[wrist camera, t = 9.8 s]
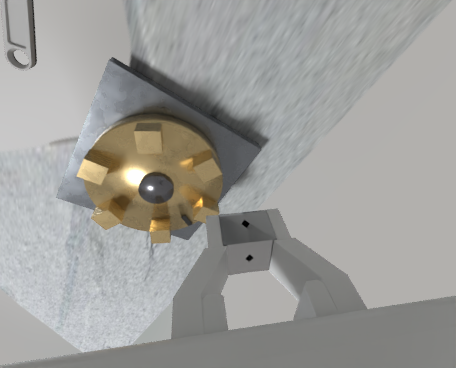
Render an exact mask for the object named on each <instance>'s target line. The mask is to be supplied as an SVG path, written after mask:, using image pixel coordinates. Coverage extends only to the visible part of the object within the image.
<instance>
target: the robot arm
mask: <svg viewBox="0 0 456 368" xmlns="http://www.w3.org/2000/svg"><path fill="white" fill-rule="evenodd" d="M206 227H207V238H208V248H205V249H204V250H203V252H202V254H201V255H200V257H199V258H198V260H197V261H196V263H195V265H194V266H193V268H192V269H191V271H190V272H189V274H188V276H187V277H186V279H185V280H184V282H183V283H182V285H181V287H180V288H179V290H178V291H177V293H176V294H175V296H174V298H173V314H172V335H171V339H169V340H162V341H157V342H149V343H143V344H136V345H130V346H123V347H117V348H110V349H104V350H97V351H91V352H84V353H78V354H71V355H64V356H58V357H51V358H45V359H39V360H32V361H25V362H19V363H12V364H5V365H0V368H456V296H451V297H444V298H438V299H431V300H425V301H419V302H412V303H405V304H399V305H392V306H386V307H379V308H373V309H367V308H366V306H365V304H364V303H363V301H362V299H361V297H360V296H359V294H358V292H357V291H356V289H355V287H354V285H353V284H352V282H351V280H350V279H349V277H348V275H347V274H346V273H344V272H343V271H341V270H340V269H338V268H337V267H335V266H334V265H333V264H331V263H330V262H328V261H327V260H326V259H324V258H323V257H321V256H320V255H318V254H317V253H316V252H314V251H313V250H311V249H310V248H308V247H307V246H306V245H304V244H303V243H302V242H300V241H299V240H297V239H296V238H291V236H290V234H289V232H288V229H287V227H286V225H285V223H284V221H283V218H282V216H281V214H280V212H279V210H278V209H269V210H260V211H252V212H243V213H232V214H220V215H210V216H206ZM264 270H269V271H270V273H271V274H273V275H274V277H275V278H276V279H277V280H278V281H279V282H280V283H281V284H282V285H283V286H284V287H285V288H286V289H287V290H288V291H289V292H290V293H291V294H292V295H293V296H294V297H295V299H297V300H298V302H299V304H298V307H297V310H296V313H295V316H294V320H293V321H287V322H280V323H274V324H267V325H261V326H254V327H248V328H241V329H234V330H228V326H227V319H226V311H225V304H224V297H223V296H222V295H221V292H222V289H223V287H224V285H225V282H226V280H227V278H228V275H233V274H239V273H246V272H253V271H264Z"/></svg>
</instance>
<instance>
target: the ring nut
mask: <svg viewBox="0 0 456 368" xmlns="http://www.w3.org/2000/svg"><path fill="white" fill-rule="evenodd" d="M77 177H80V178H82V179H83V180H84V184H85V188H86V191H87V193H88V195H89V197H90V198H91V200H92V202H93V203H94V204H95V205H96V207H95V210H94V212H93V214H92V217H91V219H93V220H94V221H95V222H96V223H98V224H99V225H100V226H101V227H103V228H104V229H105V230H107V229H109V228H111V227H113V226H115V225H117V224H119V223H120V224H122V225H124V226H127V227H130V228H133V229H137V230H142V231H150V235H151V241H152V244H153V243H170V241H171V231H173V230H178V229H181V228H185V227H187V226H190V225H192V224H194V223H196V222H198V221H200V222H202V223H205V224H206V216H210V215H218V214H219V207H218V200H219V198H220V195H221V192H222V186H223V176H222V169H221V165H220V161H219V158H218V155H217V152H216V150H215V148H214V147H213V145H212V144H211V142H210V141H209V140H208V139H207V137H206V136H205V135H204V134H203V133H201V132H200V131H199V130H198V129H196V128H195V127H193V126H192V125H190V124H188V123H186V122H184V121H182V120H179V119H176V118H173V117H170V116H165V115H157V114H143V115H136V116H131V117H128V118H125V119H122V120H120V121H118V122H116V123H114V124H113V125H111V126H110V127H108V128H107V129H106V130H105V131H104V132H102V133H101V135H100V136H99V137H98V139H97V140H96V141H95V143H94V145H93V146H92V148H91V149H89V151H88V153H87V154H86V156H85V157H84V159H83V162H82V164H81V166H80V169H79V171H78V174H77Z"/></svg>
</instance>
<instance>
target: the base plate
mask: <svg viewBox="0 0 456 368" xmlns="http://www.w3.org/2000/svg"><path fill="white" fill-rule="evenodd" d="M143 114H157V115H165V116H170V117H173V118H176V119H179V120H182V121H184V122H186V123H188V124H190V125H192V126H193V127H195V128H196V129H198V130H199V131H200V132H201V133H203V134H204V135H205V136H206V137H207V139H208V140H209V141H210V142H211V144H212V145H213V147H214V148H215V150H216V152H217V155H218V158H219V161H220V165H221V169H222V176H223V186H222V192H221V195H220V198H219V200H218V203H219V201H220V200H221V199H222V198H223V196H224V195H225V194H226V193H227V191H228V190H229V189H230V188H231V186H232V185H233V184H234V183H235V182H236V180H237V179H238V178H239V177H240V175H241V174H242V173H243V172H244V170H245V169H246V168H247V167H248V165H249V164H250V163H251V162H252V161H253V159H254V158H255V157H256V156H257V154H258V153H259V152H260V151H261V148H260V146H259V144H258V143H256V142H254V141H253V140H251V139H249V138H248V137H246V136H244V135H243V134H241V133H239V132H238V131H236V130H234V129H233V128H231V127H229V126H228V125H226V124H224V123H223V122H221V121H219V120H217V119H216V118H214V117H212V116H211V115H209V114H207V113H206V112H204V111H202V110H201V109H199V108H197V107H196V106H194V105H192V104H191V103H189V102H187V101H186V100H184V99H182V98H180V97H179V96H177V95H175V94H174V93H172V92H170V91H169V90H167V89H165V88H164V87H162V86H160V85H159V84H157V83H155V82H154V81H152V80H150V79H149V78H147V77H145V76H144V75H142V74H140V73H138V72H137V71H135V70H133V69H132V68H130V67H128V66H127V65H125V64H123V63H121V62H120V61H118V60H117V59H115V58H113V57H112V58H111V59H110V60H109V61H108V63H107V66H106V69H105V71H104V74H103V76H102V79H101V82H100V84H99V87H98V89H97V92H96V95H95V97H94V100H93V103H92V105H91V108H90V110H89V113H88V116H87V118H86V121H85V124H84V126H83V129H82V131H81V134H80V136H79V139H78V142H77V144H76V147H75V150H74V152H73V155H72V157H71V160H70V163H69V165H68V168H67V170H66V173H65V176H64V178H63V181H62V183H61V186H60V189H59V191H58V194H57V196H56V198H58V199H62V200H65V201H68V202H71V203H74V204H77V205H80V206H83V207H86V208H90V209H93V210H95V207H96V205H95V204H94V203H93V202H92V200H91V198H90V197H89V195H88V193H87V191H86V188H85V184H84V180H83V179H82V178H80V177H77V174H78V171H79V169H80V166H81V164H82V162H83V159H84V157H85V156H86V154H87V153H88V151H89V149H91V148H92V146H93V145H94V143H95V141H96V140H97V139H98V137H99V136H100V135H101V133H102V132H104V131H105V130H106V129H107V128H108V127H110V126H111V125H113V124H114V123H116V122H118V121H120V120H122V119H125V118H128V117H131V116H136V115H143ZM201 224H202V222H200V221H198V222H196V223H194V224H192V225H190V226H187V227H185V228H181V229H178V230H173V231H171V235H173V236H177V237H180V238H183V239H186V240H189V238H190V237H191V236H192V235H193V233H194V232H195V231H196V230H197V229H198V227H199V226H200V225H201Z"/></svg>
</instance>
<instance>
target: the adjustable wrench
mask: <svg viewBox="0 0 456 368" xmlns="http://www.w3.org/2000/svg"><path fill="white" fill-rule="evenodd" d="M0 3H1V15H2V27H3V38H4V50H5V57H6V59H7V61H8V62H9V63H10V65H11V66H13V67H14V68H16V69H18V70H23V71H24V70H28V69H30V68H32V67H34V66H35V65H36V63H37V54H36V36H35V20H34V2H33V0H0ZM15 50H21V51H23V52H24V53H25V54H26V55H27V57H28V59H29V64H27V65H22V64H21V63H19V62H18V61H17V60H16V58H15V56H14V53H13V52H14V51H15Z"/></svg>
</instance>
